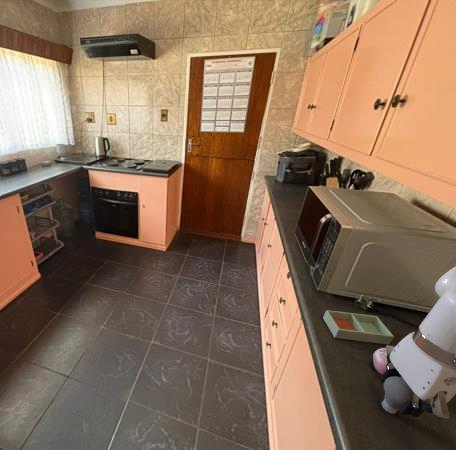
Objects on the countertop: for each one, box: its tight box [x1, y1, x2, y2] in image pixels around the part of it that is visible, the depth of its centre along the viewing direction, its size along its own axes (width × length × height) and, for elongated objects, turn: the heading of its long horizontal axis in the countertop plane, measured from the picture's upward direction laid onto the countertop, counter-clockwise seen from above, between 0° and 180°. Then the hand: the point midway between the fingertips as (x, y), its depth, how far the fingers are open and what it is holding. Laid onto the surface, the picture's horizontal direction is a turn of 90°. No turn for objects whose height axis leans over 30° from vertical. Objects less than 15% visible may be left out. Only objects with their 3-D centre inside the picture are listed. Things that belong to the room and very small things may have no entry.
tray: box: [322, 309, 395, 346], centre depth 78 cm, size 16×8×4 cm, turn 82°
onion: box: [372, 347, 403, 378], centre depth 66 cm, size 8×8×7 cm
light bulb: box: [381, 376, 414, 415], centre depth 57 cm, size 6×6×10 cm
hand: (397, 396), depth 57 cm, fingers closed on light bulb, 6 cm apart
